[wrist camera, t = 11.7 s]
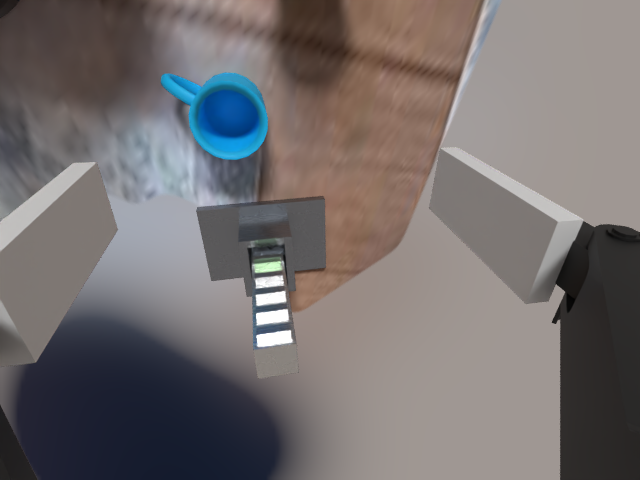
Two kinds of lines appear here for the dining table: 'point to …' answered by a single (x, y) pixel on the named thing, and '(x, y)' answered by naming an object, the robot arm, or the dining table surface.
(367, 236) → the dining table surface
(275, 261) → the column
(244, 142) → the mug
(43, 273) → the robot arm
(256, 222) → the stand
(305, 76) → the dining table surface
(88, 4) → the dining table surface
